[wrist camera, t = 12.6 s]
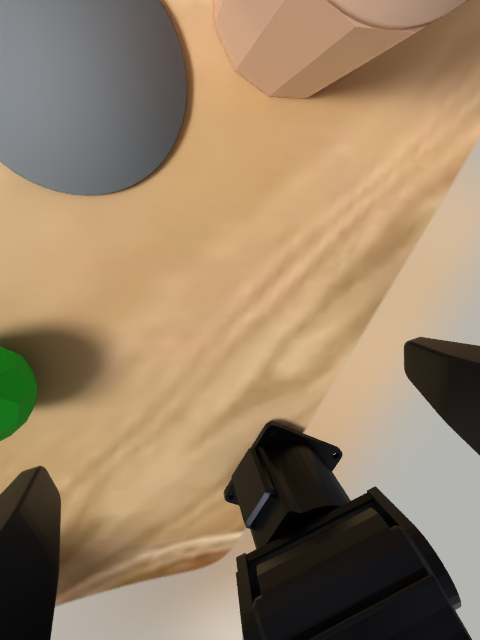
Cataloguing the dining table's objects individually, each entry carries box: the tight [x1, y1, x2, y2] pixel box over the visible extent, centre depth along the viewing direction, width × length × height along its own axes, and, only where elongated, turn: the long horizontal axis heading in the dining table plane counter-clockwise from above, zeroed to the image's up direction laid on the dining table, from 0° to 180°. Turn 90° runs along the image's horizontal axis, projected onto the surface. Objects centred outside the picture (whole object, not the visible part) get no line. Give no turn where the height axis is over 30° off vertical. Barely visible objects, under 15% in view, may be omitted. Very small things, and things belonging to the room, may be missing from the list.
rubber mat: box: [0, 0, 187, 196], centre depth 17 cm, size 10×10×1 cm
